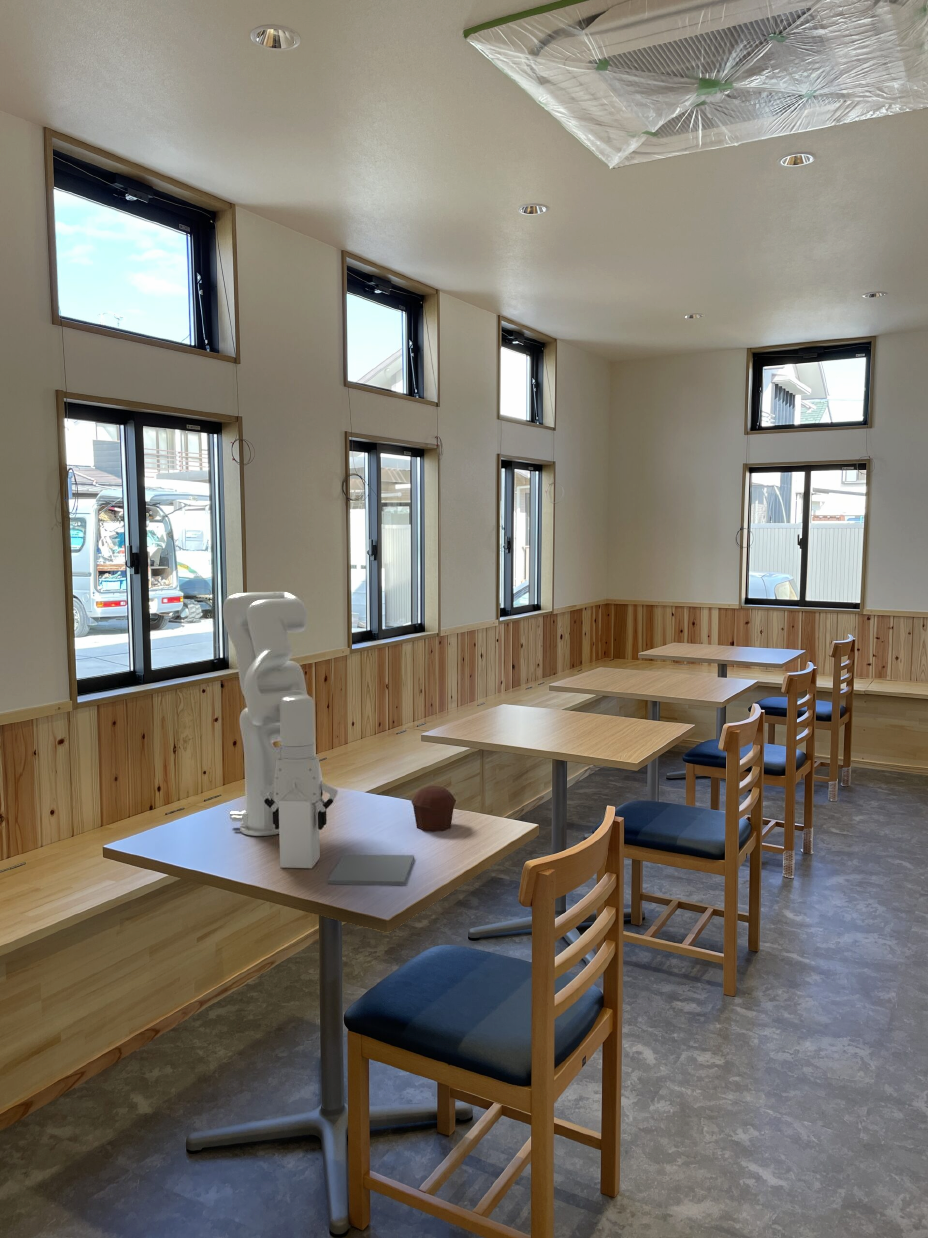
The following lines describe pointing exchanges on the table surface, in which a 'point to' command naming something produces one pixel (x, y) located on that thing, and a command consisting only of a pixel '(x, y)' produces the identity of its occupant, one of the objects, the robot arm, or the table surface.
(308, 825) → the milk carton
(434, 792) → the muffin
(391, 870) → the mat
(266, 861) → the table surface
